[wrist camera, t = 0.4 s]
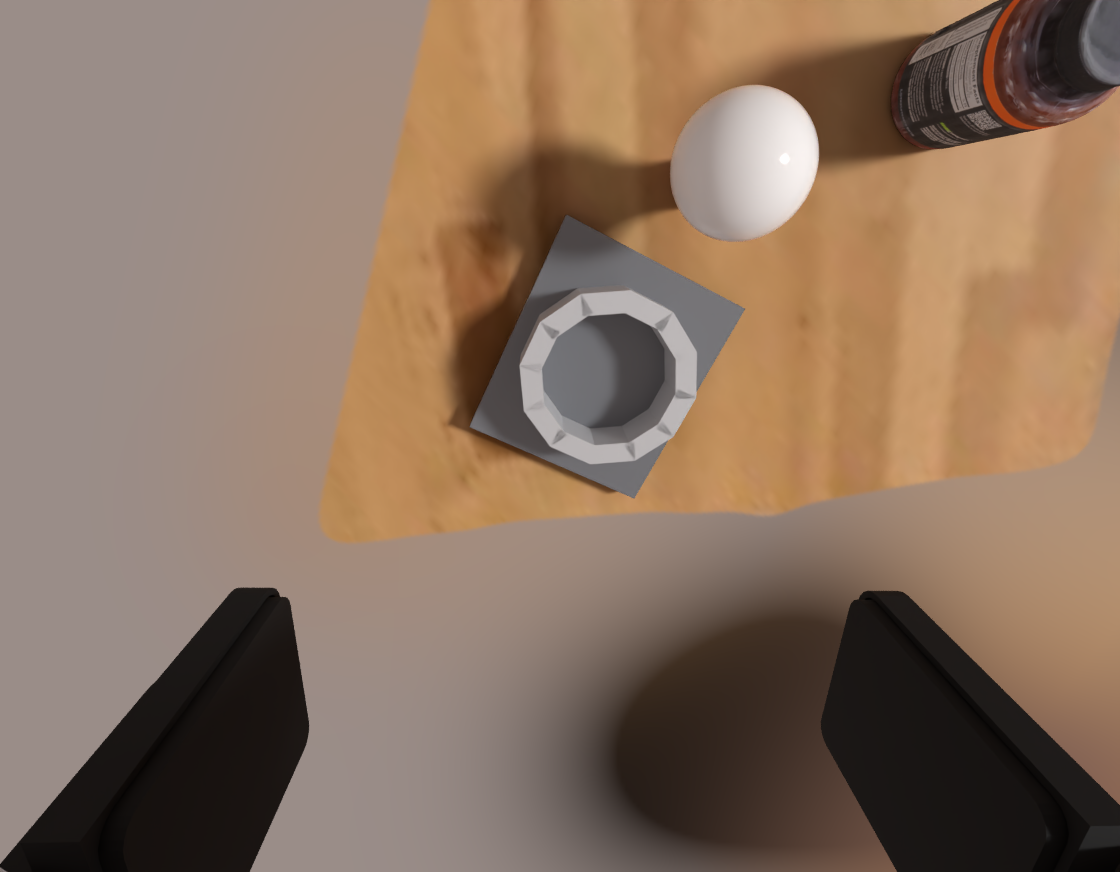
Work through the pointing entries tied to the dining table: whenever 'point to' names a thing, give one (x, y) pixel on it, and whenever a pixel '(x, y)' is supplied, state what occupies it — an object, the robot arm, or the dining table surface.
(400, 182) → the dining table surface
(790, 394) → the dining table surface
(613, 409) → the socket holder
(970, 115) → the supplement bottle
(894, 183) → the dining table surface
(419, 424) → the dining table surface
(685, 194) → the lightbulb
